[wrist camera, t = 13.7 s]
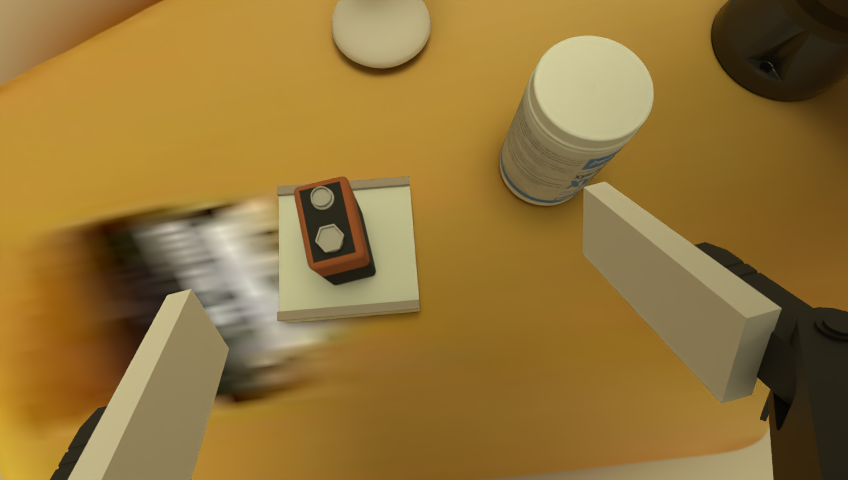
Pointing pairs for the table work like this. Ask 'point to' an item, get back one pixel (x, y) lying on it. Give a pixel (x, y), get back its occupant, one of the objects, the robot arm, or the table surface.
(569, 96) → the supplement tub
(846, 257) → the table surface
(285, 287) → the stand
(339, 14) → the flower in vase
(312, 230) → the battery
